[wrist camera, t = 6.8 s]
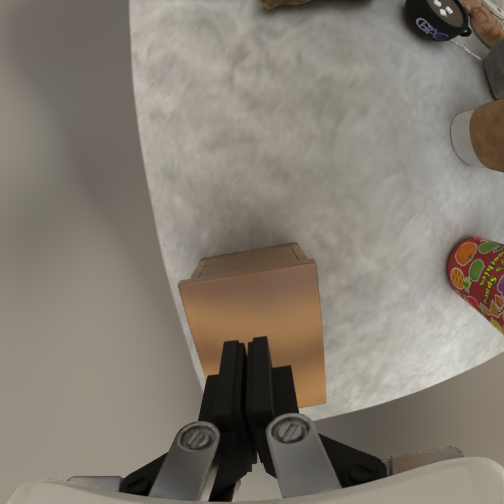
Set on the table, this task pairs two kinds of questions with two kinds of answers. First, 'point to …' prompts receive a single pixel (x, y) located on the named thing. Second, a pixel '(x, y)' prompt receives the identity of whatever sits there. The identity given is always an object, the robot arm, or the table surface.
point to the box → (249, 260)
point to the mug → (438, 19)
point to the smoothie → (480, 277)
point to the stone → (496, 69)
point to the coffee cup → (480, 136)
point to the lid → (262, 320)
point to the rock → (280, 3)
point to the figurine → (483, 22)
